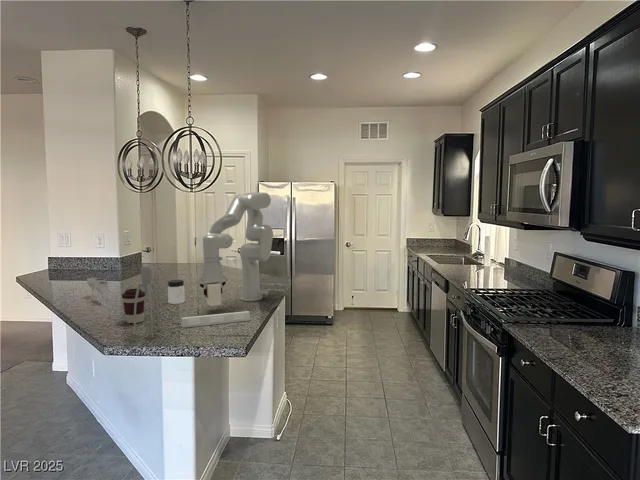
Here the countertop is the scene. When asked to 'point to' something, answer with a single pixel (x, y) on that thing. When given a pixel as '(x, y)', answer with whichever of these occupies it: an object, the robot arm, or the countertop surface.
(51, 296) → the countertop surface
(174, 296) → the jar
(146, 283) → the juicer
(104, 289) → the goblet set
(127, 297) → the coffee cup
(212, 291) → the box
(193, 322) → the rail
